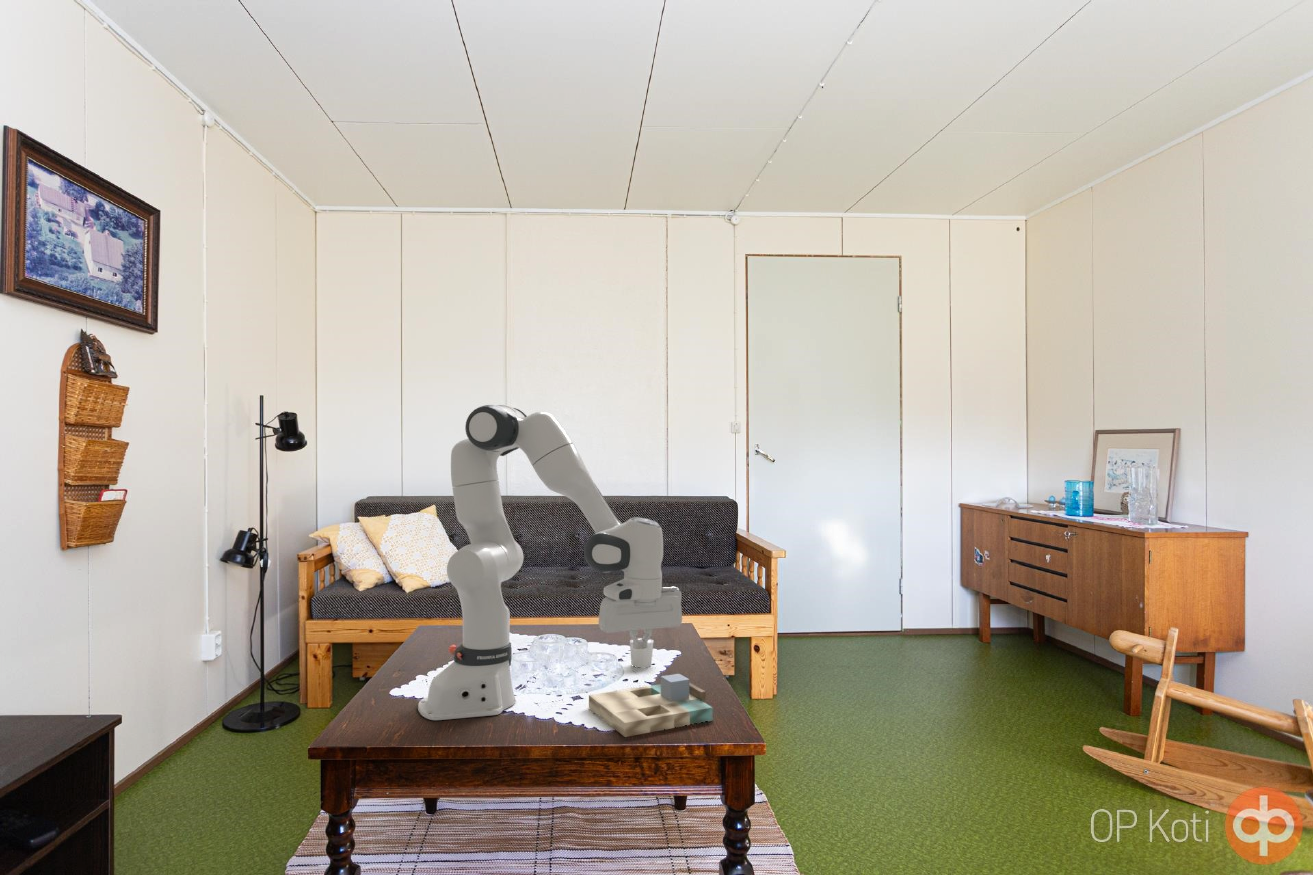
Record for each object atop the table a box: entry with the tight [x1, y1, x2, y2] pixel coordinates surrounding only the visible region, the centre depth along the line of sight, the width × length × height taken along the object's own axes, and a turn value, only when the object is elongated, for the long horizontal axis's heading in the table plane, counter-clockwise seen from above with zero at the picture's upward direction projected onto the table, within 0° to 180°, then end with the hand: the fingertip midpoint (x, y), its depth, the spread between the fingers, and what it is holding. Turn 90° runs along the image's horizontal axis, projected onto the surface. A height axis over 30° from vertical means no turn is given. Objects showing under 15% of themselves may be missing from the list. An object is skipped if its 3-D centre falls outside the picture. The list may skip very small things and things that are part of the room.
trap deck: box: [588, 682, 714, 738], centre depth 176 cm, size 23×20×5 cm
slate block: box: [660, 673, 691, 702], centre depth 179 cm, size 5×5×4 cm
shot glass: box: [629, 637, 655, 668], centre depth 215 cm, size 7×7×7 cm
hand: (640, 648), depth 175 cm, fingers closed
